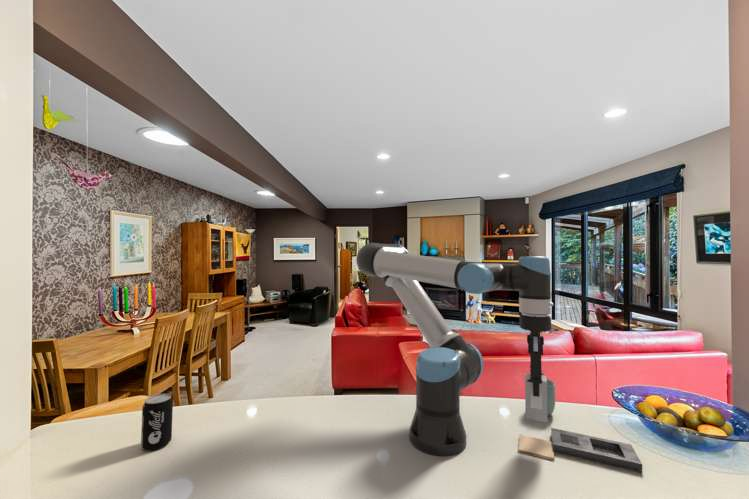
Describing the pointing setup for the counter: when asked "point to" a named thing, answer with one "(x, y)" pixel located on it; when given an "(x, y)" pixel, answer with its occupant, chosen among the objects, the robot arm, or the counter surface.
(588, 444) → the grey recessed tray
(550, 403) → the cup
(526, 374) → the steel peg
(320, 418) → the counter surface
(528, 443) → the cork pad
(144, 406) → the beverage can
